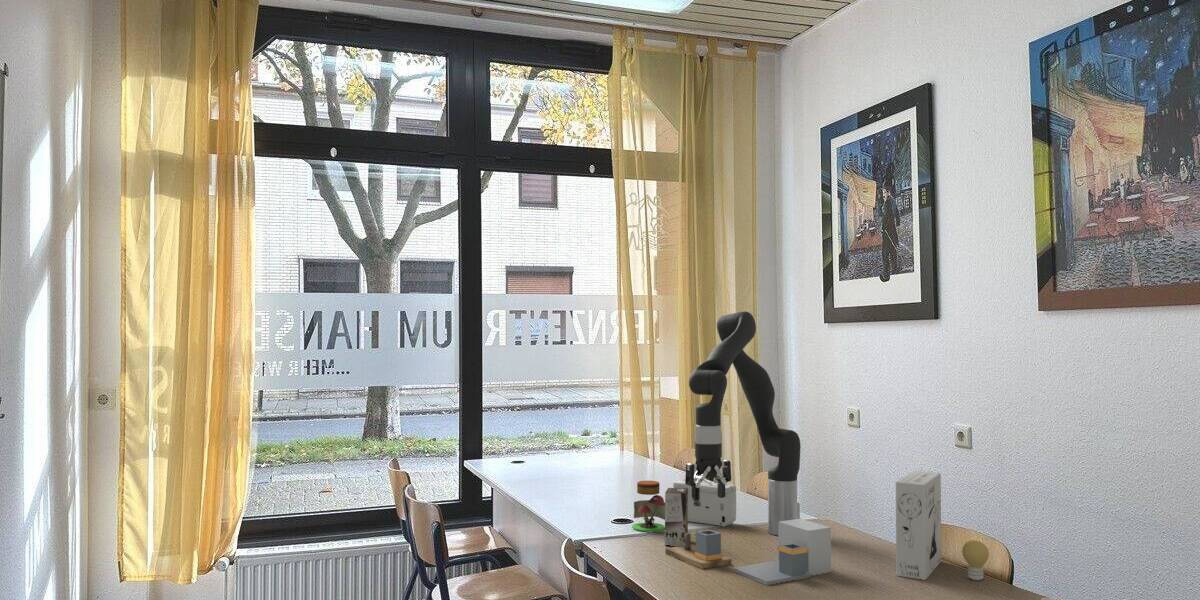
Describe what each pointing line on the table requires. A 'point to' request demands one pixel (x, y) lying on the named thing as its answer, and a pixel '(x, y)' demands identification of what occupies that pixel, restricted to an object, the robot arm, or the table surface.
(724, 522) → the stereo radio cassette player
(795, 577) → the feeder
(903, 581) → the table surface
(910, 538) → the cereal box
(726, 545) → the table surface
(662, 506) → the red mushroom
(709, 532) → the sleeve
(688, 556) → the pin board
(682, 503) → the coffee box
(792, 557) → the sleeve
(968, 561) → the light bulb
